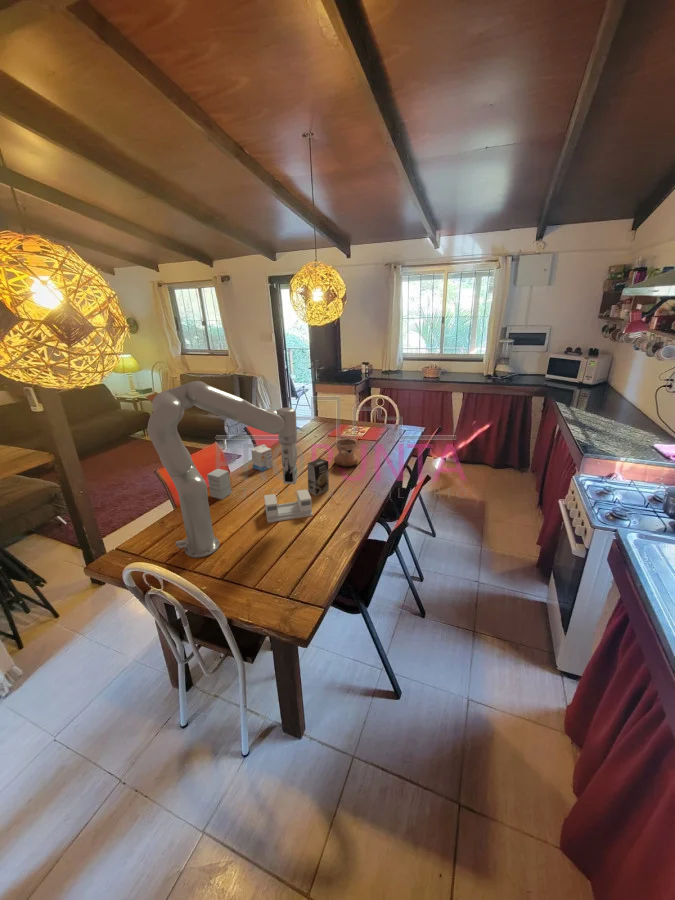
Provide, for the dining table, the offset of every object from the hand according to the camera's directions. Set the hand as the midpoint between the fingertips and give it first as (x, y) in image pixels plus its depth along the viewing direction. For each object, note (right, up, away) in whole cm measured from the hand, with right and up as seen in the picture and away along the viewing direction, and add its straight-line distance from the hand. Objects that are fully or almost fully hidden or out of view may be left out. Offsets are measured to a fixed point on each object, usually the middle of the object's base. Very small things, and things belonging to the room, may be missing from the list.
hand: (290, 478), depth 147 cm
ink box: (-24, +1, +57) cm, 62 cm away
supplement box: (-38, -11, +26) cm, 48 cm away
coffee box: (+11, -9, +30) cm, 33 cm away
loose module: (0, -1, +1) cm, 2 cm away
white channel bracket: (-2, -17, +11) cm, 20 cm away
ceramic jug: (+26, +4, +62) cm, 67 cm away
